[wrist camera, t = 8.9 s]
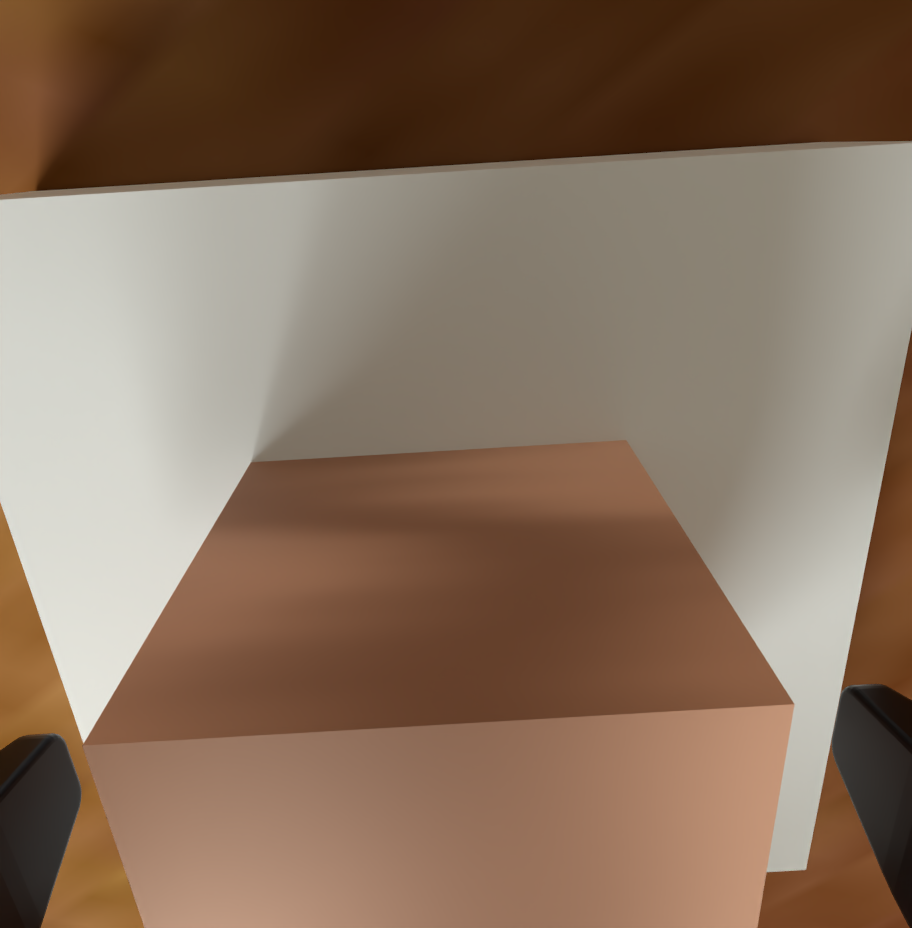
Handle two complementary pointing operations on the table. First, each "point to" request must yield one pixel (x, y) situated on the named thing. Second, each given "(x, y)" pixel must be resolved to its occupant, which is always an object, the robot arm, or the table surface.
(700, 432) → the white slab
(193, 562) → the terracotta block
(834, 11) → the table surface
